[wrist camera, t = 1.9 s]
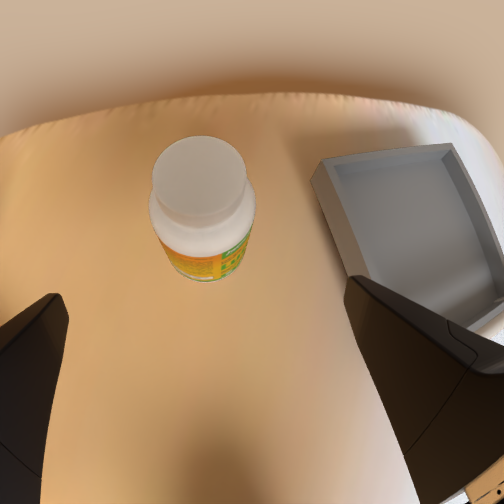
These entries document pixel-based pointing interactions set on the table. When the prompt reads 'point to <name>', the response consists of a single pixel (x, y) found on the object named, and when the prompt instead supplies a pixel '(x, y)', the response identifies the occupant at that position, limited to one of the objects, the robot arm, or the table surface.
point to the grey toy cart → (417, 230)
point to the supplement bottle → (202, 207)
